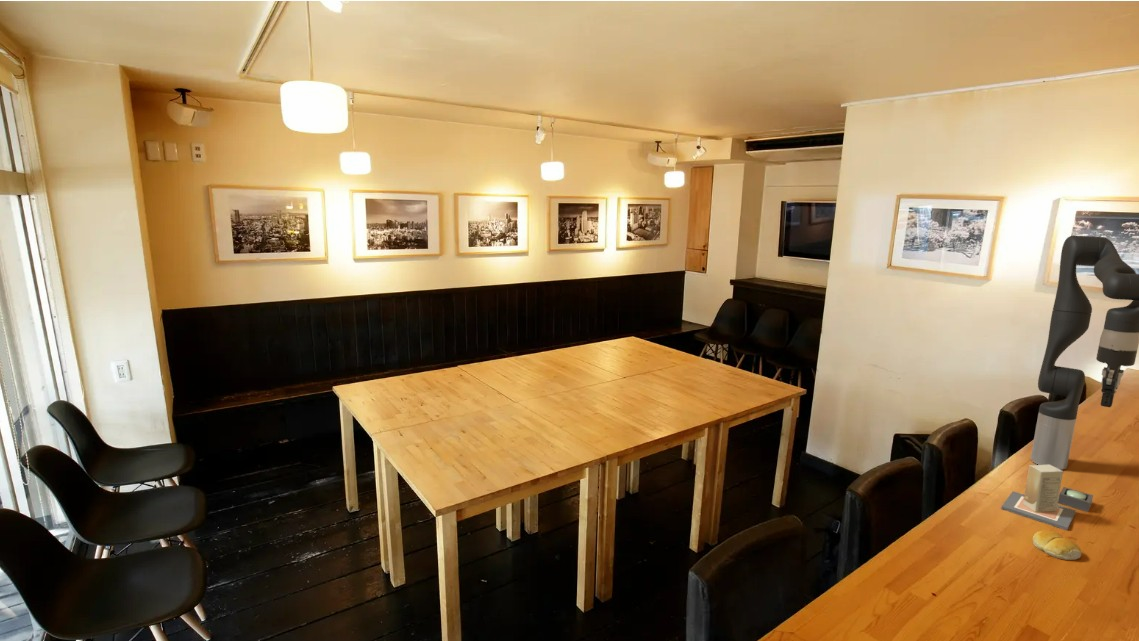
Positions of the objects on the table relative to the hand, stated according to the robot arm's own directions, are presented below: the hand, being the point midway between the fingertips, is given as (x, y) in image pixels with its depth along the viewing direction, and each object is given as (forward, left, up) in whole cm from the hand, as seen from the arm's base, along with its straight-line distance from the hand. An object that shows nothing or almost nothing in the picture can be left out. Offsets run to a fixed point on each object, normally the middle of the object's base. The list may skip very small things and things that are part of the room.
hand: (1105, 406), depth 152 cm
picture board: (+18, -8, -29) cm, 35 cm away
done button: (+5, -2, -28) cm, 28 cm away
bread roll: (+38, -1, -30) cm, 48 cm away
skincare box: (+18, -8, -28) cm, 34 cm away
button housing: (+5, -2, -29) cm, 29 cm away
